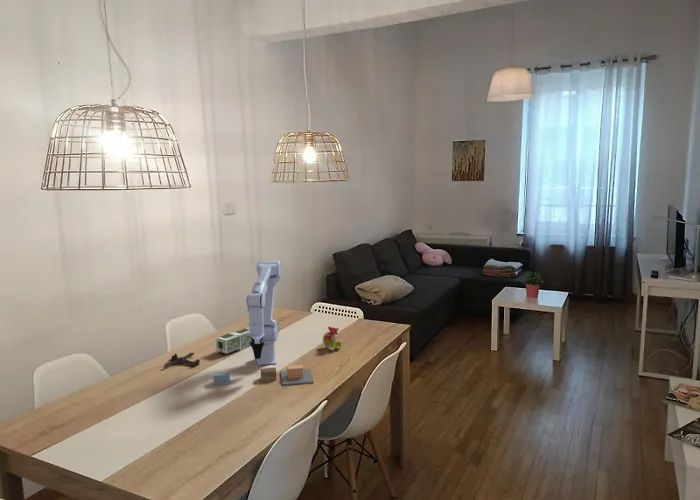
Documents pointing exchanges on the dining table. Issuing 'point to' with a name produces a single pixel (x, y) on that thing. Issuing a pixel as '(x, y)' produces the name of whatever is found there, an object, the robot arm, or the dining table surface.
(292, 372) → the terracotta brick
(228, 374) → the slate blue brick
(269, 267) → the robot arm
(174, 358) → the dark action figure
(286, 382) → the grey flat square slab
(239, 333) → the green white framed bar
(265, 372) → the walnut brick
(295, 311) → the dining table surface
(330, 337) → the bird rattle
